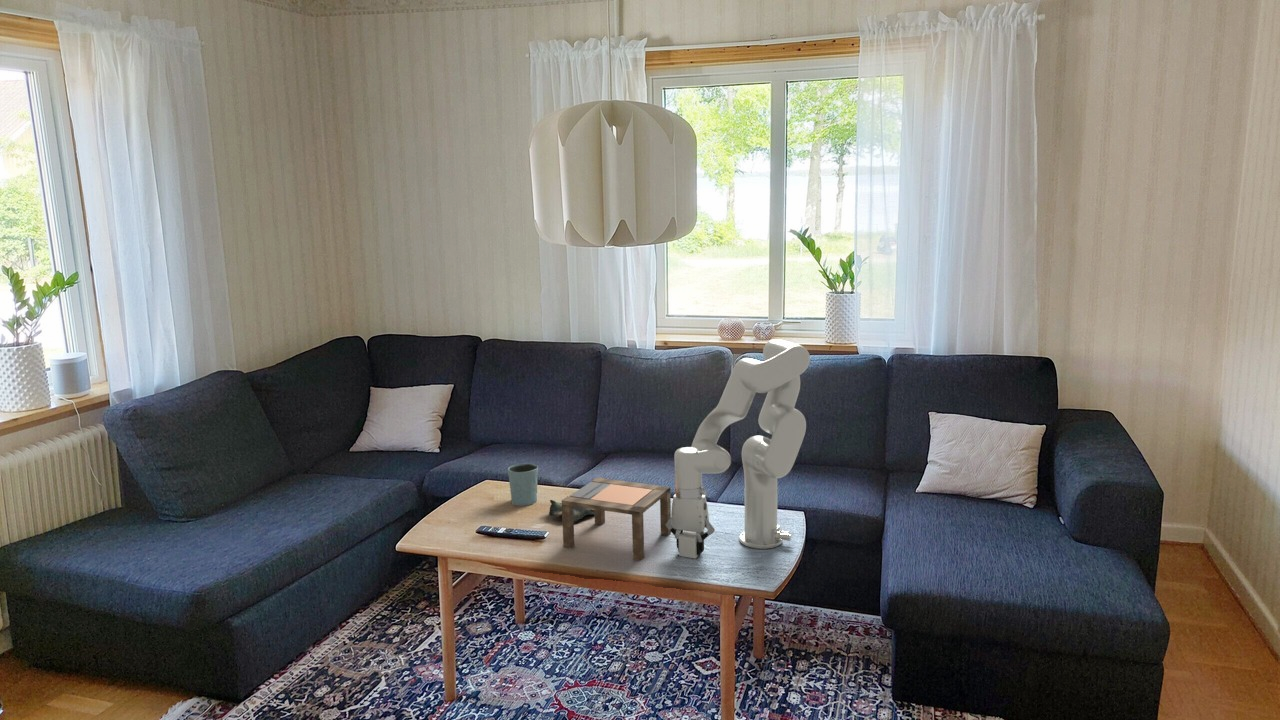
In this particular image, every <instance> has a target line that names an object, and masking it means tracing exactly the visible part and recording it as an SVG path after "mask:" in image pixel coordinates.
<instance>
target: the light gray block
mask: <svg viewBox="0 0 1280 720" xmlns="http://www.w3.org/2000/svg"><path fill="white" fill-rule="evenodd" d="M697 541H698V538H697V535H696V532H691V531H684V530H683V532H682V533H681V534H680V535H679V552H678V555H679V557H683V558H690V559H696V558H698V557H699V555H697Z"/></svg>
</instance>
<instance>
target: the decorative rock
mask: <svg viewBox="0 0 1280 720" xmlns="http://www.w3.org/2000/svg"><path fill="white" fill-rule="evenodd" d="M549 503H550V505H549V506H550V507H549V512H548V515H550V517H557V518H560V517H561V518H562V502H558V501H556V500H552V499H550V500H549ZM588 515H589V516H592V515H594V509H590V508H586V509H585V510H584V511H582V510H575V509H573V517H574V526H575V525H576V524H577V523H578V521H579V520H582V519H583V518H584V517H586V516H588Z"/></svg>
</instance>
